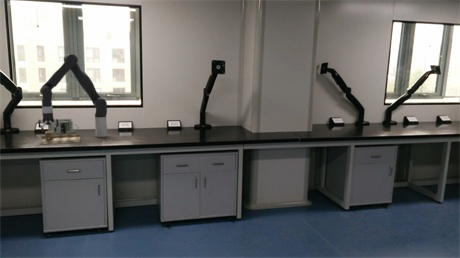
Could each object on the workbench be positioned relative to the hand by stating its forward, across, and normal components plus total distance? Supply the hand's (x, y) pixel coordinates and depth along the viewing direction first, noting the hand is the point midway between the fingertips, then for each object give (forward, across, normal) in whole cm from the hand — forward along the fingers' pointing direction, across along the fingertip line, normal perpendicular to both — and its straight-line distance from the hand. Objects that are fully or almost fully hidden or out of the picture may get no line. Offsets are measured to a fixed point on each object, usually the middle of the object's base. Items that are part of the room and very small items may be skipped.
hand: (49, 132), depth 289 cm
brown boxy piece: (+6, 0, +2) cm, 6 cm away
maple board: (+8, -8, +1) cm, 11 cm away
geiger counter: (+8, -10, -31) cm, 33 cm away
